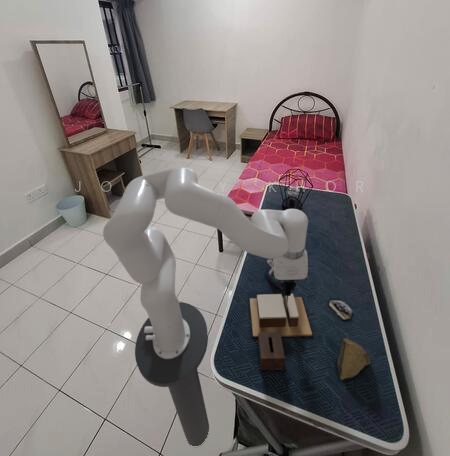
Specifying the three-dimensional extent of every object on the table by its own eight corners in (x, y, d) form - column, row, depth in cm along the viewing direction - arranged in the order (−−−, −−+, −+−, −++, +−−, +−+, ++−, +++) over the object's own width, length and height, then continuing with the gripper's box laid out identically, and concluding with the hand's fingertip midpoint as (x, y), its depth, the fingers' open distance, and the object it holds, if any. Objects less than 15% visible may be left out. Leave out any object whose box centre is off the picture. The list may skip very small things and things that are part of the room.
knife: (283, 308, 83) (285, 282, 76) (282, 300, 85) (284, 274, 79) (289, 309, 82) (292, 283, 76) (288, 300, 85) (291, 274, 79)
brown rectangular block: (288, 326, 83) (290, 316, 80) (283, 303, 90) (284, 293, 87) (297, 326, 83) (299, 316, 80) (291, 303, 90) (293, 293, 87)
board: (253, 337, 81) (253, 335, 81) (249, 299, 93) (249, 298, 93) (311, 336, 81) (312, 334, 80) (301, 298, 93) (301, 296, 92)
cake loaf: (259, 327, 83) (259, 317, 81) (256, 304, 90) (256, 294, 88) (285, 326, 83) (286, 316, 80) (280, 303, 90) (281, 293, 87)
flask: (285, 287, 97) (287, 269, 92) (280, 291, 95) (282, 273, 91) (268, 272, 104) (269, 254, 99) (263, 276, 102) (264, 258, 97)
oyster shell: (348, 324, 84) (349, 321, 83) (325, 309, 88) (326, 306, 88) (354, 309, 88) (355, 306, 87) (332, 295, 93) (333, 292, 92)
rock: (368, 341, 77) (335, 332, 78) (381, 350, 69) (345, 339, 71) (368, 384, 72) (333, 373, 74) (382, 398, 64) (344, 385, 66)
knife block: (260, 370, 73) (261, 358, 70) (258, 344, 80) (258, 332, 77) (283, 369, 73) (285, 358, 70) (279, 343, 79) (280, 331, 76)
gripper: (266, 258, 68) (265, 298, 76) (322, 256, 68) (315, 297, 76) (262, 238, 75) (262, 277, 83) (314, 236, 74) (308, 275, 83)
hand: (287, 286), depth 79 cm, fingers closed on knife, 2 cm apart
